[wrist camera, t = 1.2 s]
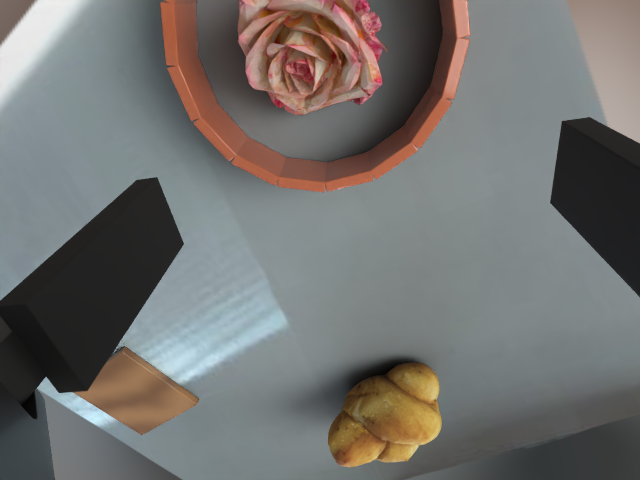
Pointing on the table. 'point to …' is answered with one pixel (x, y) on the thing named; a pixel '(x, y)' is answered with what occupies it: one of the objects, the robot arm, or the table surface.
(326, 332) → the table surface
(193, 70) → the terracotta brick ring
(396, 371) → the bread roll
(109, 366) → the brown wooden square board
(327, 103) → the flower
